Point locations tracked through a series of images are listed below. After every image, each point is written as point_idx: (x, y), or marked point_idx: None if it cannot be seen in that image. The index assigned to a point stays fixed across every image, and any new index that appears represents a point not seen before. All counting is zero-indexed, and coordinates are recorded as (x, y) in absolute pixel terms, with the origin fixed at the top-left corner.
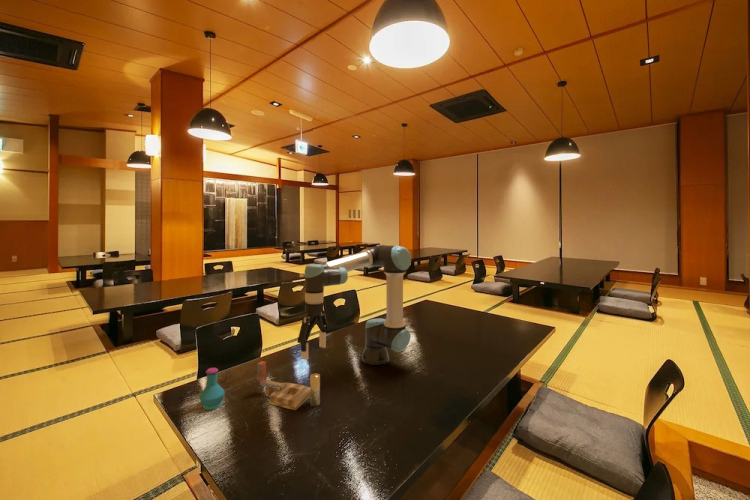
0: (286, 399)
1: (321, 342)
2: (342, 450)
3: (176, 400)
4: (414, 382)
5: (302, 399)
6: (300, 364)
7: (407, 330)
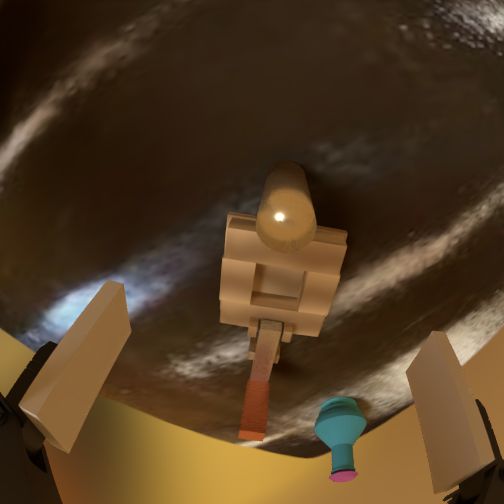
0: (338, 281)
1: (107, 348)
2: (492, 38)
3: None
4: None
5: None
6: None
7: None
